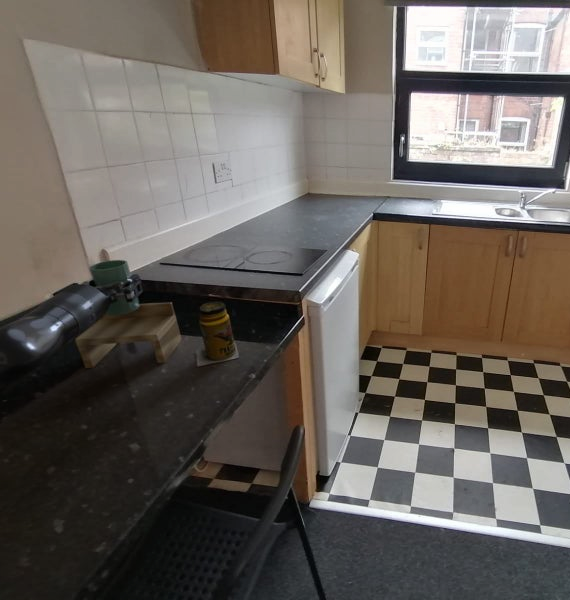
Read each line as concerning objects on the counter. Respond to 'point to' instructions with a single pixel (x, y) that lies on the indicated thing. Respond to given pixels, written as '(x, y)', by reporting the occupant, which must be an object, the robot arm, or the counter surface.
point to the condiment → (215, 335)
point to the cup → (111, 273)
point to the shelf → (132, 332)
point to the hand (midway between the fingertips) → (119, 279)
